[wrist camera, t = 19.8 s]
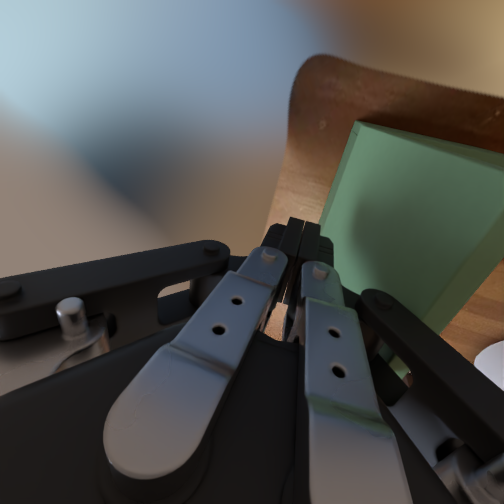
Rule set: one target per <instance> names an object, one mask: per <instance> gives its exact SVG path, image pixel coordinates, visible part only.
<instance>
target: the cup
mask: <svg viewBox="0 0 504 504" xmlns="http://www.w3.org/2000/svg"><path fill="white" fill-rule="evenodd" d="M474 366H475V367H476V368H477V369H478V370H480V371H481V372H482V373H483V374H484V375H485V376H487V377H488V378H489V379H490V380H491V381H492V382H494V383H495V384H496V385H497V386H498V387H499V388H501V389H502V390H503V391H504V341H500V342H498V343H495V344H493V345H490V346H489V347H487V348H485V349H484V350H482V351H481V352H480V353H479V354H478V355H477V356H476V359H475V362H474Z"/></svg>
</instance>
